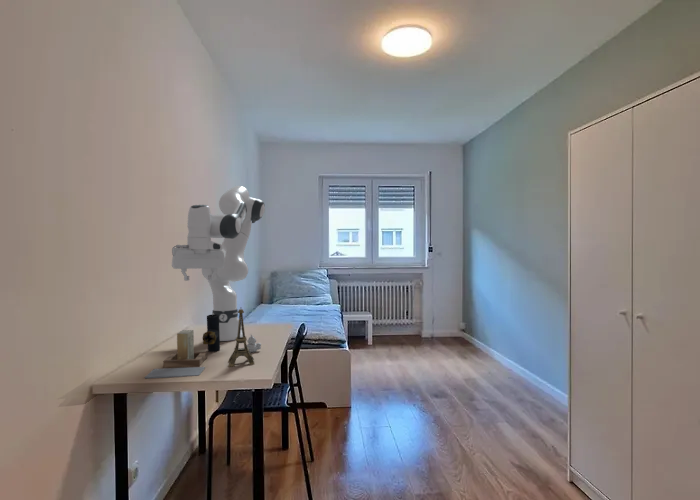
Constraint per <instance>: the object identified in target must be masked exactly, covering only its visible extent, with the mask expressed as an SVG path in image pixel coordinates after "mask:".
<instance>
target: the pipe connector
mask: <svg viewBox="0 0 700 500" xmlns="http://www.w3.org/2000/svg"><path fill="white" fill-rule="evenodd" d="M220 342H221V341H220V332H219V315H217V314H208V315H206V332H203V334H202V343H203V345H207V351H208V352H211V353H215V352H218V351H220V350H221V343H220Z"/></svg>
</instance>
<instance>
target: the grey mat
mask: <svg viewBox="0 0 700 500" xmlns="http://www.w3.org/2000/svg"><path fill="white" fill-rule="evenodd" d="M205 369H206V366H200V367H179V368H153V369H152V370H151V371H150V372H149V373H147V375H146V376H144V379H163V378H164V379H165V378H183V377H184V378H185V377H199V376H200V375H201V373H203V372H204V370H205Z"/></svg>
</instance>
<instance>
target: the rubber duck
mask: <svg viewBox="0 0 700 500" xmlns="http://www.w3.org/2000/svg"><path fill="white" fill-rule="evenodd" d="M246 342H247V343H246V345H247V347H248V349H249V352H250V353H251V354H252V353H253V354H254V353H256V352H257V351H258V350H261V349H262V348H261V347H262V343H261V342H257V339H256V338H255V336H253V335H252V334H250V336H249V337H248V339H247V340H246Z"/></svg>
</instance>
